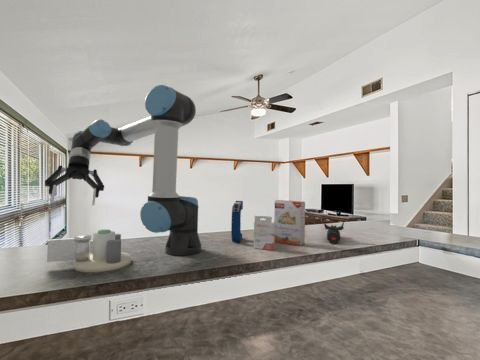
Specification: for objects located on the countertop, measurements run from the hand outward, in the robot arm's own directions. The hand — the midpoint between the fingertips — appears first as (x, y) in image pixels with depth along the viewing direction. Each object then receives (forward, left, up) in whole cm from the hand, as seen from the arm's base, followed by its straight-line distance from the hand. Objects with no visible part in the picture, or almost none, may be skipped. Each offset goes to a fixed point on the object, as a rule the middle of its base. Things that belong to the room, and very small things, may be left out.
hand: (73, 202), depth 104 cm
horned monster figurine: (-108, -51, -21) cm, 122 cm away
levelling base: (-16, +6, -21) cm, 27 cm away
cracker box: (-84, -39, -21) cm, 95 cm away
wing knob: (-8, +11, -19) cm, 23 cm away
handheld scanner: (-58, -41, -21) cm, 75 cm away
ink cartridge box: (-72, -27, -21) cm, 80 cm away
